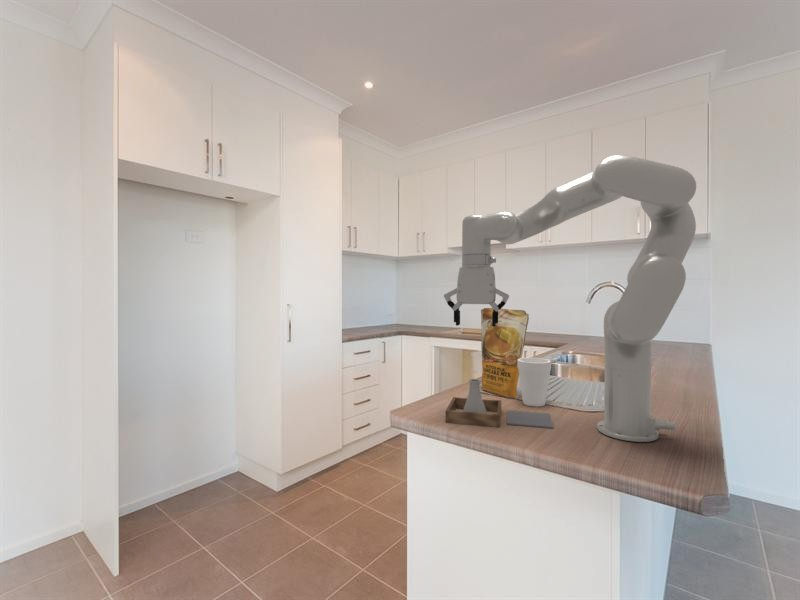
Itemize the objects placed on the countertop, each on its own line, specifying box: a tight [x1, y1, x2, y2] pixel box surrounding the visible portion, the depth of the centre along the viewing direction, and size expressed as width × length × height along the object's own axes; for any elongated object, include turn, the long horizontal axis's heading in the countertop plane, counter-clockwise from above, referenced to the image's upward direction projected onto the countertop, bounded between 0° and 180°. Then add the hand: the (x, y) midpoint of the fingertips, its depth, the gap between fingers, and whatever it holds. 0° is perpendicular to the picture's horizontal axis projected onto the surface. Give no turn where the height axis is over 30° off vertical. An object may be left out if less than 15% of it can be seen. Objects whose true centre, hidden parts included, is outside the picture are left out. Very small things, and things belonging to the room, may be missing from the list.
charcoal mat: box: [506, 410, 554, 429], centre depth 103 cm, size 11×11×1 cm
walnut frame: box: [445, 396, 502, 428], centre depth 106 cm, size 14×14×3 cm
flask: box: [462, 378, 488, 413], centre depth 106 cm, size 7×7×10 cm
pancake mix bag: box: [480, 307, 530, 399], centre depth 130 cm, size 7×19×28 cm, turn 31°
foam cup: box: [517, 357, 552, 407], centre depth 118 cm, size 10×9×13 cm
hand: (475, 325), depth 106 cm, fingers open, 9 cm apart
